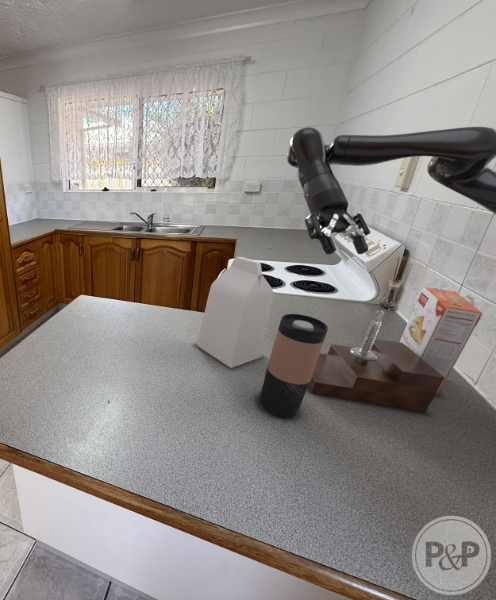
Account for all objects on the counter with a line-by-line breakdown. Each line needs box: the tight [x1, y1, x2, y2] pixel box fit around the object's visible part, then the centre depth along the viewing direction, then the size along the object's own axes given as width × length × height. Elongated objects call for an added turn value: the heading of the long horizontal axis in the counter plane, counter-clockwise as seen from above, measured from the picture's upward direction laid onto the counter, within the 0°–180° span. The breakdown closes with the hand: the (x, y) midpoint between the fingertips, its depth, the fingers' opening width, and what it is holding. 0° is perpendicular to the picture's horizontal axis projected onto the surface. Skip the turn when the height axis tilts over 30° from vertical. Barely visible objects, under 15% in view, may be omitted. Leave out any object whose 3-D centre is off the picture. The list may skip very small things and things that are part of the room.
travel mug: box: [259, 313, 329, 419], centre depth 62 cm, size 8×8×20 cm
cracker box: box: [399, 286, 484, 395], centre depth 73 cm, size 14×6×21 cm, turn 149°
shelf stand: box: [308, 338, 445, 414], centre depth 72 cm, size 21×14×9 cm, turn 74°
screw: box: [350, 309, 385, 364], centre depth 69 cm, size 13×5×5 cm
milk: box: [196, 256, 274, 369], centre depth 81 cm, size 12×12×26 cm
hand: (347, 252), depth 73 cm, fingers open, 8 cm apart
